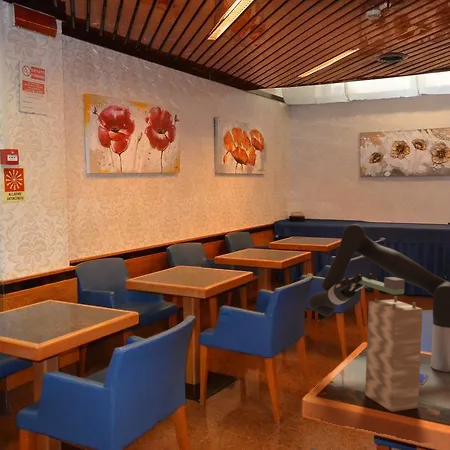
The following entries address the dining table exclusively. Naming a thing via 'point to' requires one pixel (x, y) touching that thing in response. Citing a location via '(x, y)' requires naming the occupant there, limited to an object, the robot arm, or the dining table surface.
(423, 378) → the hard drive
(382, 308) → the stand
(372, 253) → the robot arm
